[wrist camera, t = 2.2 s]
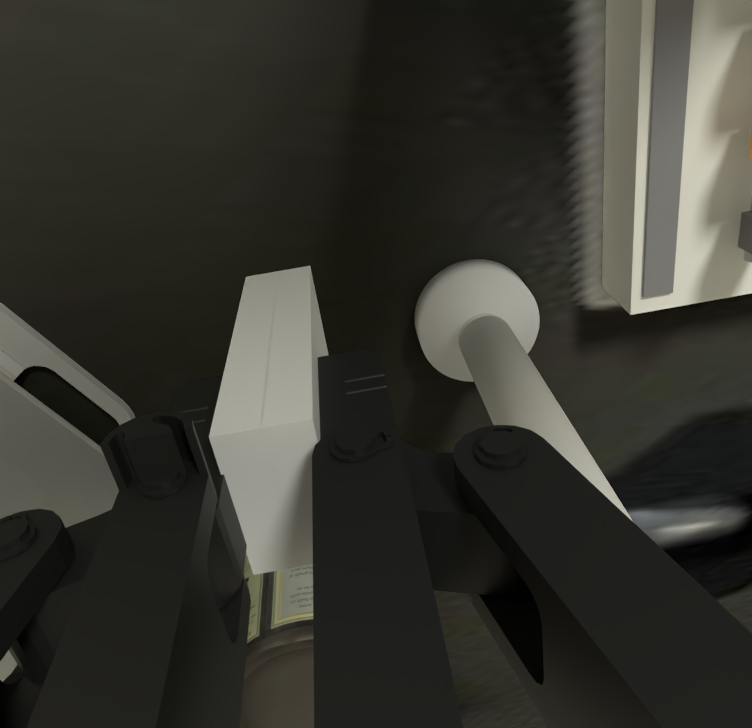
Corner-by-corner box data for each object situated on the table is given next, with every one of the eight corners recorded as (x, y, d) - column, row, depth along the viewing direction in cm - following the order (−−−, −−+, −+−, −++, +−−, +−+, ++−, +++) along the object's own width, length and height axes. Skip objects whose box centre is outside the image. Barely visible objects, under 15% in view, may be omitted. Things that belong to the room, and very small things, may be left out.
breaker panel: (608, -173, 29) (652, -199, 25) (876, -219, 29) (958, -253, 25) (601, 287, 40) (632, 316, 36) (798, 252, 40) (848, 277, 36)
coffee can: (386, 569, 49) (413, 759, 37) (246, 576, 48) (224, 772, 36) (392, 456, 44) (425, 631, 32) (236, 461, 43) (207, 642, 31)
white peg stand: (439, 244, 37) (643, 613, 15) (548, 277, 39) (886, 657, 16) (398, 350, 40) (514, 793, 18) (501, 377, 42) (730, 816, 19)
